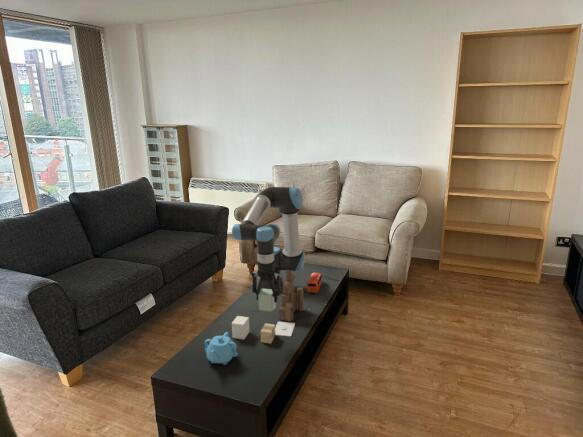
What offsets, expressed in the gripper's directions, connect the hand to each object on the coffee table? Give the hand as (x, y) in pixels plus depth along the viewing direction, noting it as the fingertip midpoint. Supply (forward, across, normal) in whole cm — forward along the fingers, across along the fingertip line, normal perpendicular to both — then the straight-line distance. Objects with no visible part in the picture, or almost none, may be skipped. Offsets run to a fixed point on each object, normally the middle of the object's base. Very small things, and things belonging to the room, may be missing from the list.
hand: (267, 307), depth 188 cm
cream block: (+17, -14, 0) cm, 22 cm away
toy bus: (+17, +10, +60) cm, 63 cm away
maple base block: (+17, 0, 0) cm, 17 cm away
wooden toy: (+17, +5, +25) cm, 31 cm away
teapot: (+17, -15, -21) cm, 31 cm away
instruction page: (+17, +5, +10) cm, 20 cm away
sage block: (0, 0, 0) cm, 0 cm away
